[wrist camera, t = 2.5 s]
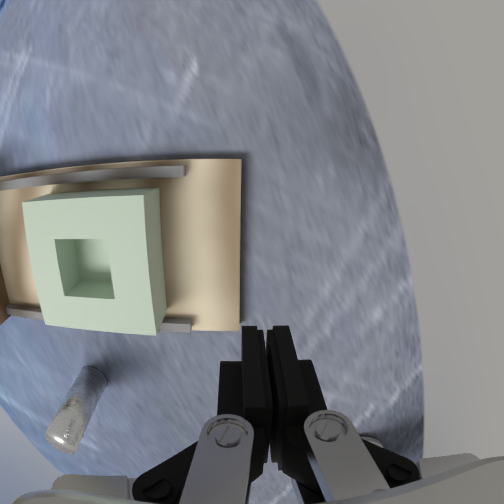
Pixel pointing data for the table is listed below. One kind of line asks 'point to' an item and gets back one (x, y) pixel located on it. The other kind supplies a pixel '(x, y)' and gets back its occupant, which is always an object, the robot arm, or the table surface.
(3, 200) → the rail board
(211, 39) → the table surface
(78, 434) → the grey round-ended peg
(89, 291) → the sliding block
